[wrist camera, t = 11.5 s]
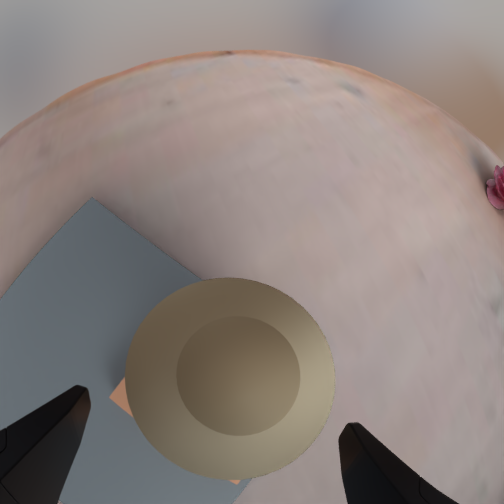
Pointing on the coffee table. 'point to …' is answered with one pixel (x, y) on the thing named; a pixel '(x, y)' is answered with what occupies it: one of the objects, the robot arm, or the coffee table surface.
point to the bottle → (230, 378)
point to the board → (95, 356)
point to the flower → (496, 188)
